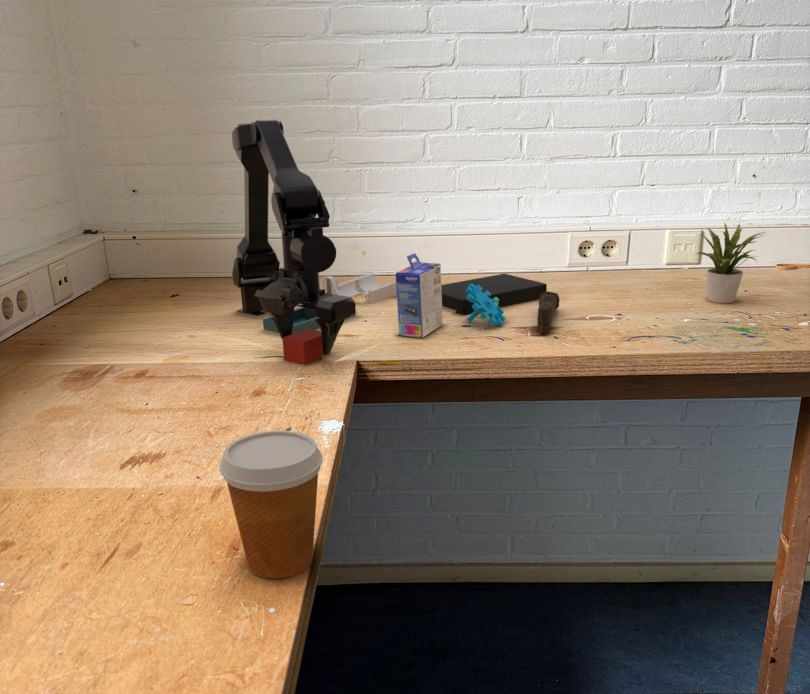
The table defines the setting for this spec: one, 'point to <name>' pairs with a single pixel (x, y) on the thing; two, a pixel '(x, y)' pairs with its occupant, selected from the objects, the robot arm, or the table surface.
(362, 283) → the skate ramp
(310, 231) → the robot arm
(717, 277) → the house plant
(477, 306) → the blue coral piece
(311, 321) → the tray
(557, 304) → the hand tool
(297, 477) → the disposable coffee cup
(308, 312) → the dark grey block
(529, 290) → the external hard drive
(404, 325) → the ink cartridge box
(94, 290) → the table surface
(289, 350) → the red rectangular block
